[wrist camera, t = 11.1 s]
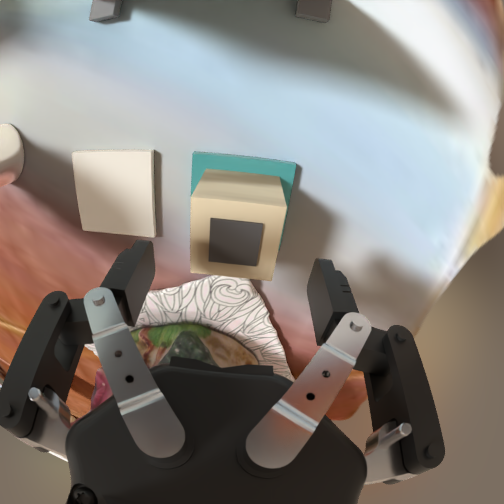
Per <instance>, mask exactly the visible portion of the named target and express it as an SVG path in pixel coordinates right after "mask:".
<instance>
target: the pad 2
mask: <svg viewBox="0 0 504 504" xmlns="http://www.w3.org/2000/svg"><path fill="white" fill-rule="evenodd" d="M206 169H217V170H228V171H237V172H247V173H255V174H264V175H271V176H279V177H280V181H281V185H282V189H283V193H284V197H285V202H286V206H287V209H286V214H285V219H284V224H283V229H282V234H281V239H280V244H279V249H278V251H279V250H280V245H281V240H282V236H283V231H284V226H285V221H286V216H287V211H288V206H289V201H290V196H291V191H292V185H293V180H294V175H295V170H296V163H295V162H288V161H281V160H274V159H267V158H259V157H250V156H241V155H231V154H220V153H208V152H194V153H193V157H192V181H191V196H192V194H193V192H194V190H195V188H196V186H197V185H198V183H199V181H200V179H201V177H202V175H203V173H204V172H205V170H206Z"/></svg>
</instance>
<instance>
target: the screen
mask: <svg viewBox="0 0 504 504" xmlns="http://www.w3.org/2000/svg"><path fill="white" fill-rule="evenodd" d="M331 3H332V0H298V2H297V9H296V16H295V17H300V18H305V19H310V20H315V21H319V22H323V23H326V22H328V21H329V19H330V11H331ZM121 4H122V0H93V2H92V7H91V12H90V17H89V20H90V21H94V22H98V21H102V20H107V19H111V18H116V17H119V15H120V9H121Z"/></svg>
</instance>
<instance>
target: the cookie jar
mask: <svg viewBox="0 0 504 504" xmlns="http://www.w3.org/2000/svg"><path fill="white" fill-rule="evenodd" d="M128 328H129V331H130V333H131V335H132V337H133V339H134V341H135V344H136V346H137V348H138V350H139V352H140V354H141V356H142V358H143V360H144V362H145V364H146V366H147V368H148V369H149V368H151V367H153V366H156V365H159V364H164V363H170V360H171V356H176V357H183V358H191V359H197V360H200V361H203V362H205V363H208V364H211V365H214V366H217V367H221V368H225V367H232V366H240V365H247V364H252V365H269V366H273V371H274V373H276V374H279V375H281V376H284V377H286V378H288V379H289V380H291V381H292V382H295V379H294V377H293V375H292V374H291V372H290V369H289V367H288V364H287V361H286V356H285V351H284V348H283V346H282V344H281V343H280V340H279V338H278V336H277V331H276V329H275V328H274V327H273V326H272V323H271V321H270V319H269V311H268V310H267V308H266V307H265V302H264V300H263V299H262V297H261V296H260V295H259V293H258V292H257V291H256V289H255V288H254V286H253V285H252V283H251V281H250V279H246V278H236V277H226V276H217V275H212V276H208V277H206V278H202V279H199V280H195V281H192V282H188V283H183V284H182V285H180V286H178V287H173V288H166V289H162V290H149V291H148V294H147V296H146V299H145V301H144V304H143V306H142V309H141V312H140V314H139V317H138V320H137V322H136V325H135V327H130V326H128ZM84 346H85V347H87V348H88V349H89V350H92V351H93V352H94V354H95V355H97V356H98V353H97V350H96V347H95V344H85V345H84ZM98 357H99V356H98ZM112 395H113V393H112V390H111V388H110V385H109V383H108V380H107V378H106V375H105V373H104V370H103V367H102V368H99V369H98V370H97V373H96V377H95V388H94V391H93V394H92V397H91V410H90V411H92V410H93V409H94V408H96V407H97V406H98V405H100V404H101V403H102V402H104V401H105V400H107V399H108V398H109V397H111V396H112ZM90 411H89V412H90ZM89 412H88V413H89ZM84 416H85V415H84ZM82 417H83V416H82ZM82 417H81V418H82ZM79 419H80V418H78V419H76V420H75V421H74V422H71V423H70V424H71V426H72V425H73V424H74V423H75V422H76V421H78V420H79Z"/></svg>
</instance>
